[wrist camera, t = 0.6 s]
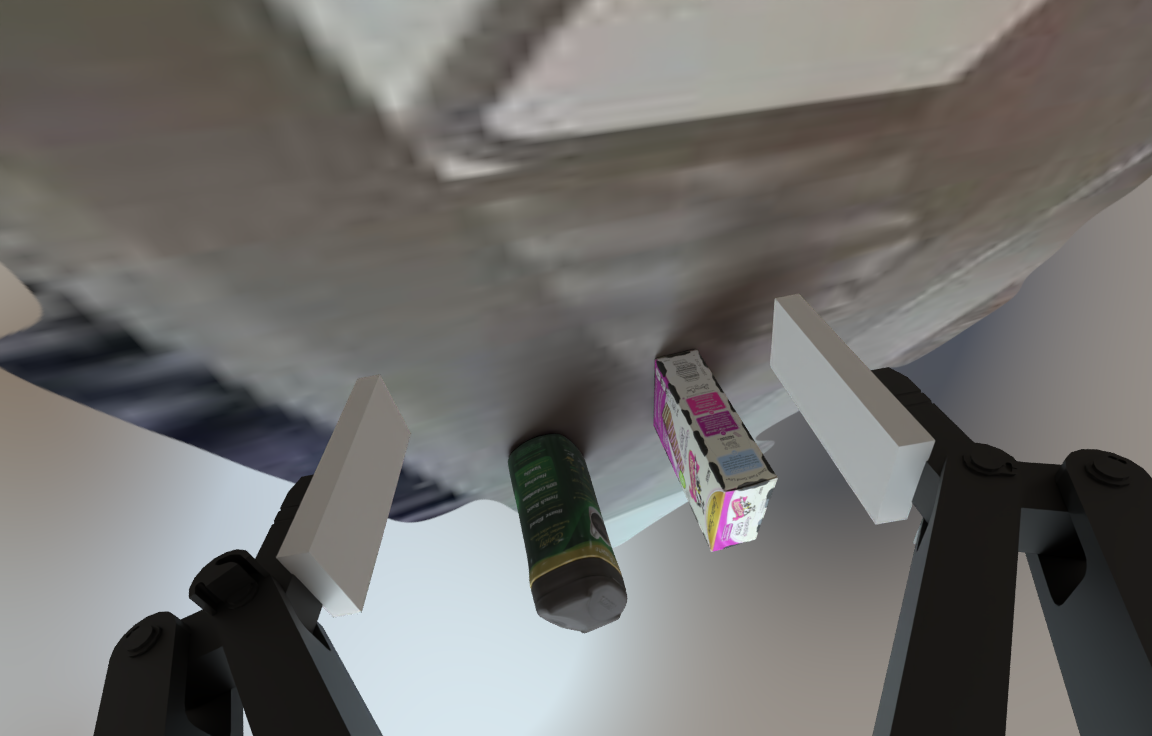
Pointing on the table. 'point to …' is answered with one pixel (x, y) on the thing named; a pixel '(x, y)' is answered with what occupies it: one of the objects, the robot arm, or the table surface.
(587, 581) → the coffee jar
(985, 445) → the robot arm
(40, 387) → the table surface
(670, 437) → the candy bar box
